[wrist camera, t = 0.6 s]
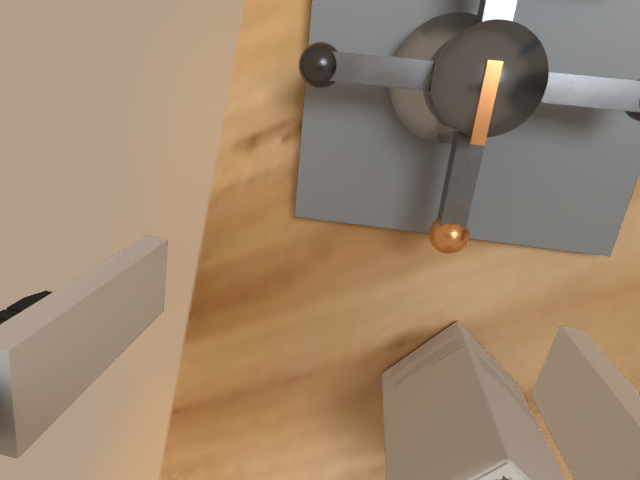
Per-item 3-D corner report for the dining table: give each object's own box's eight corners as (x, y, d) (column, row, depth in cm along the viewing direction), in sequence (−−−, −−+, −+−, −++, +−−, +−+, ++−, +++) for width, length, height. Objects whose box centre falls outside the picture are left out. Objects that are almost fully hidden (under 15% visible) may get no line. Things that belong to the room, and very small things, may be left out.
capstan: (696, -98, 25) (803, -160, 18) (582, 251, 32) (632, 289, 26) (324, -122, 26) (310, -188, 20) (296, 215, 33) (280, 242, 27)
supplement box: (377, 372, 39) (381, 528, 25) (457, 317, 37) (510, 457, 23) (440, 435, 41) (476, 615, 27) (521, 386, 38) (608, 558, 24)
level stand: (705, -60, 27) (759, -84, 23) (600, 249, 33) (628, 268, 30) (322, -88, 28) (315, -114, 25) (297, 211, 35) (289, 225, 32)
